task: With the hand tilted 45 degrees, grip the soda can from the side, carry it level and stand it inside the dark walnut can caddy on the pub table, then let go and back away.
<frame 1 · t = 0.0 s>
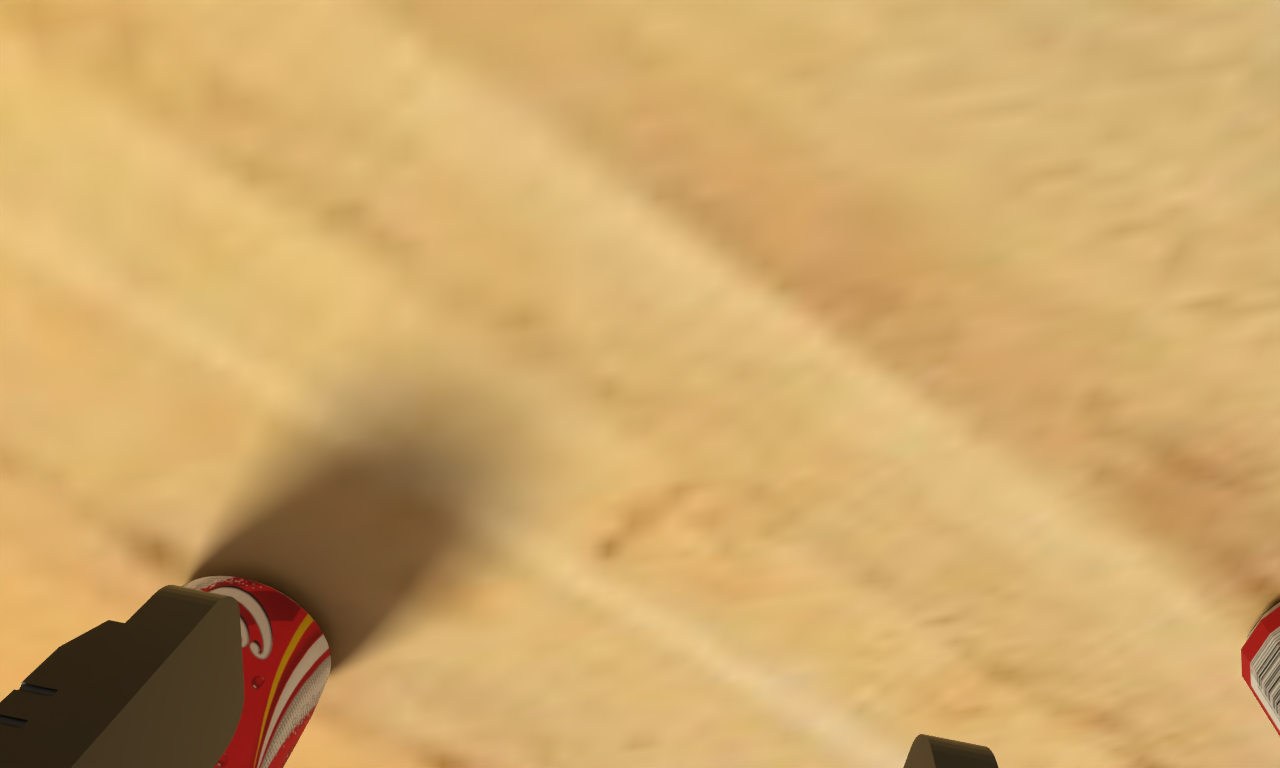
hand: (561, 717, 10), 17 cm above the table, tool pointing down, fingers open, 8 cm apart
soda can 2: (260, 625, 35), on the table
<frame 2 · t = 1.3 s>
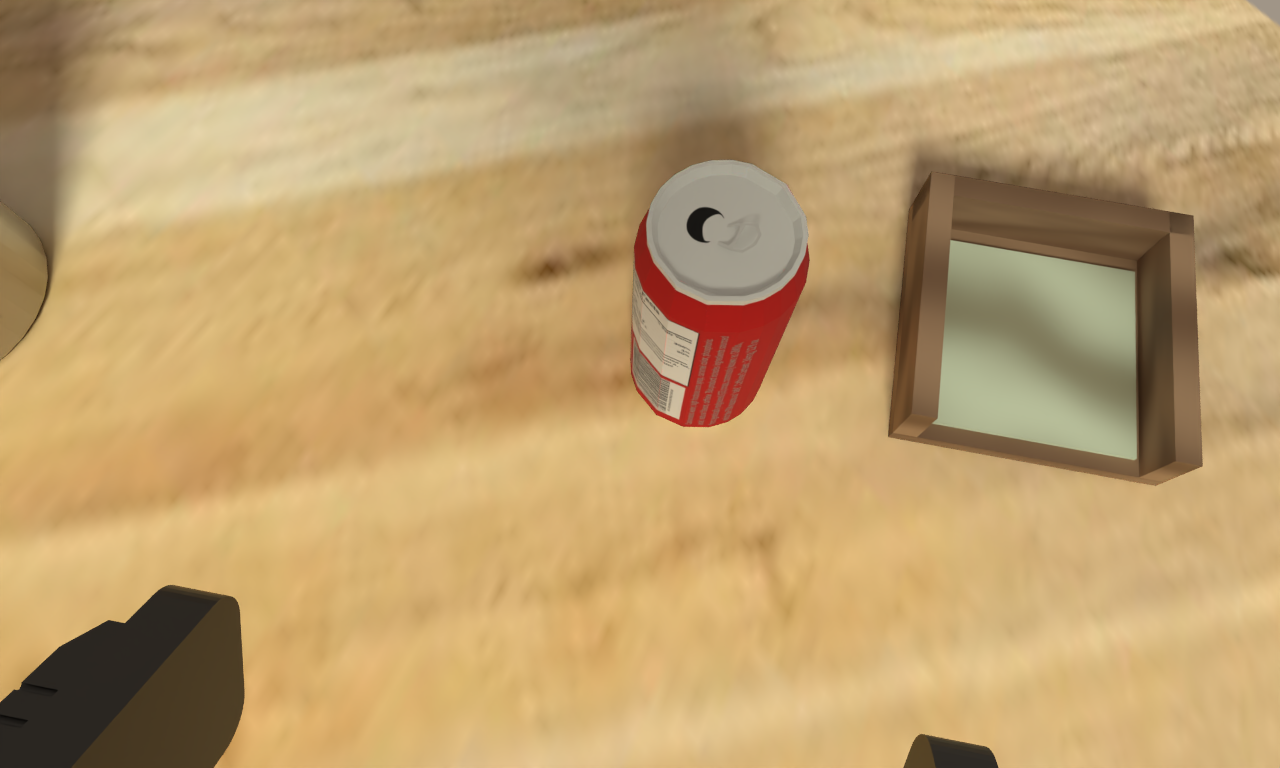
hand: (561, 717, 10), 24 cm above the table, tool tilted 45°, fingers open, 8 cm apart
caddy: (1025, 340, 38), on the table
soda can: (695, 370, 38), on the table
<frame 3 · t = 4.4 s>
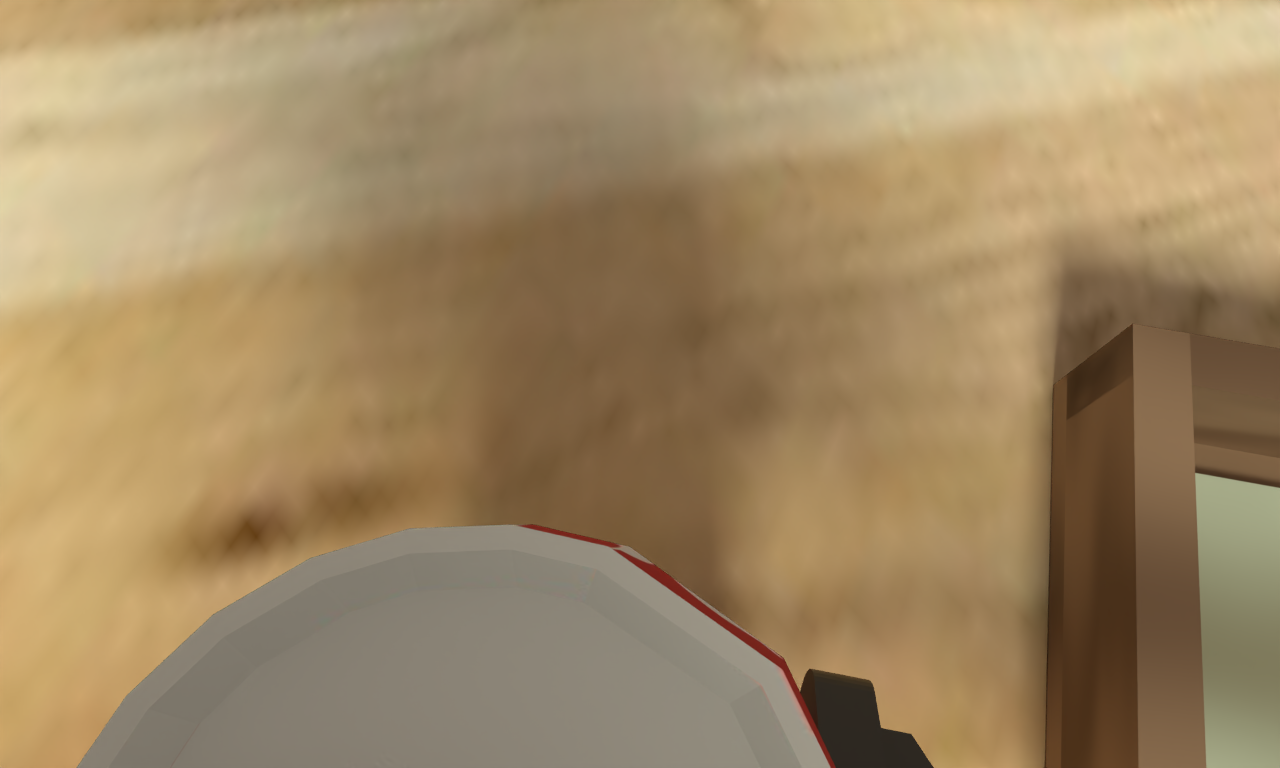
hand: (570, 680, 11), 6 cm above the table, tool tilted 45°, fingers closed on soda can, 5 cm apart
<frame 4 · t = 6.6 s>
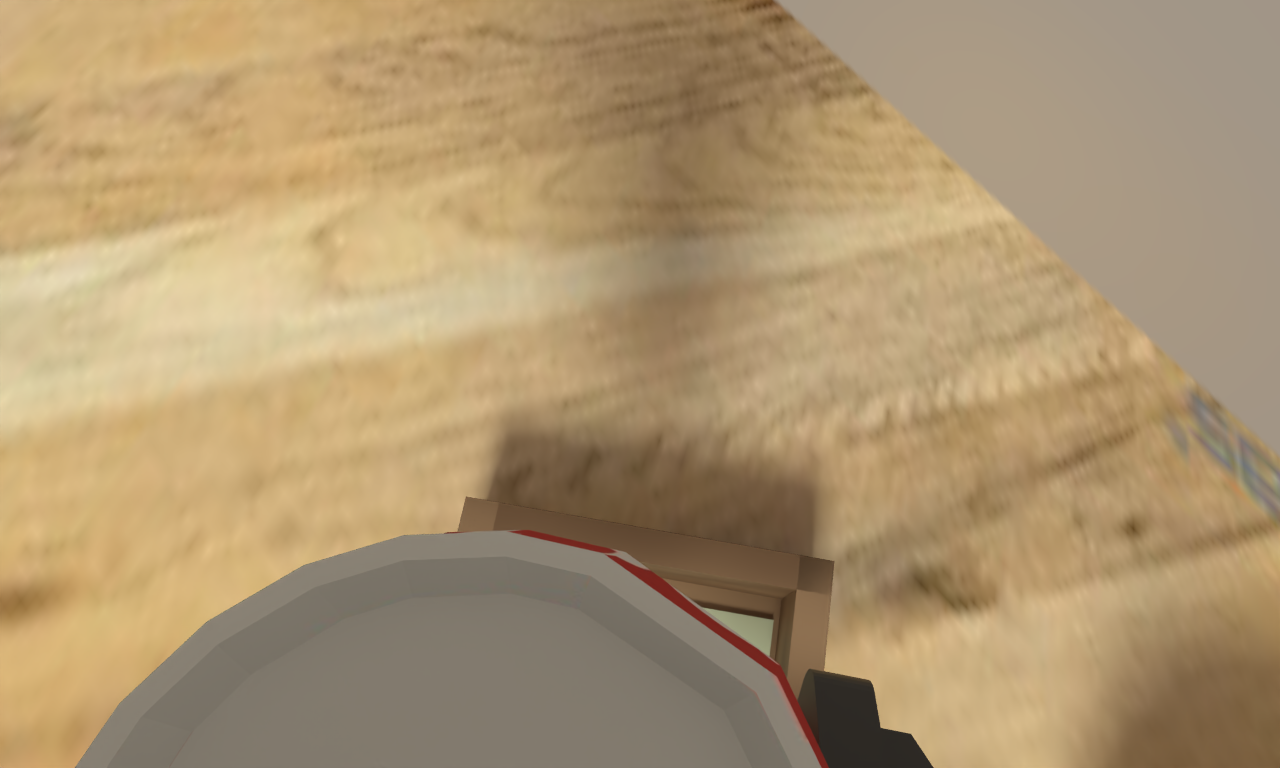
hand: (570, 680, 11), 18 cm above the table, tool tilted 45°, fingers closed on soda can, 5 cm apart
caddy: (615, 723, 27), on the table
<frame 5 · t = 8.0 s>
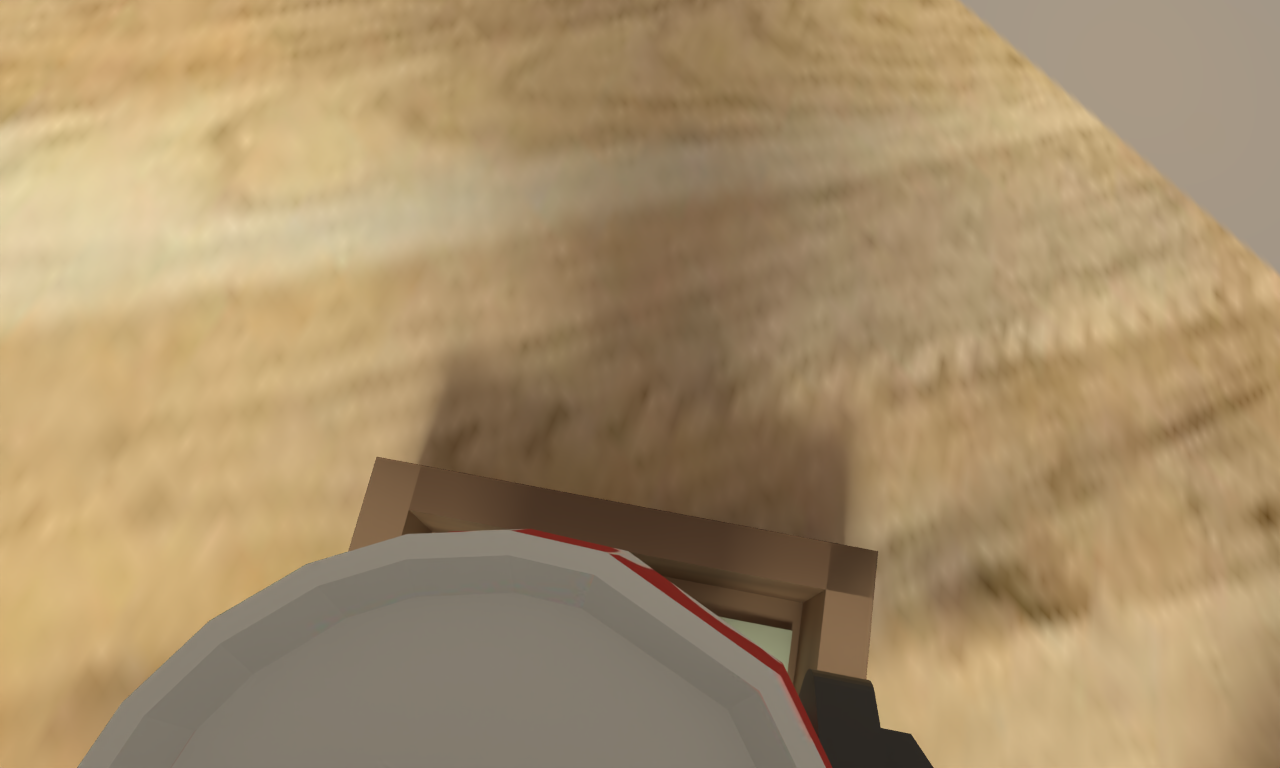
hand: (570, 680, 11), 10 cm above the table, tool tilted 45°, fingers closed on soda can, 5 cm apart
caddy: (577, 767, 20), on the table
when the fingers open (7 cm above the table, at t = 9.0 s): soda can stays where it is, resting on caddy.
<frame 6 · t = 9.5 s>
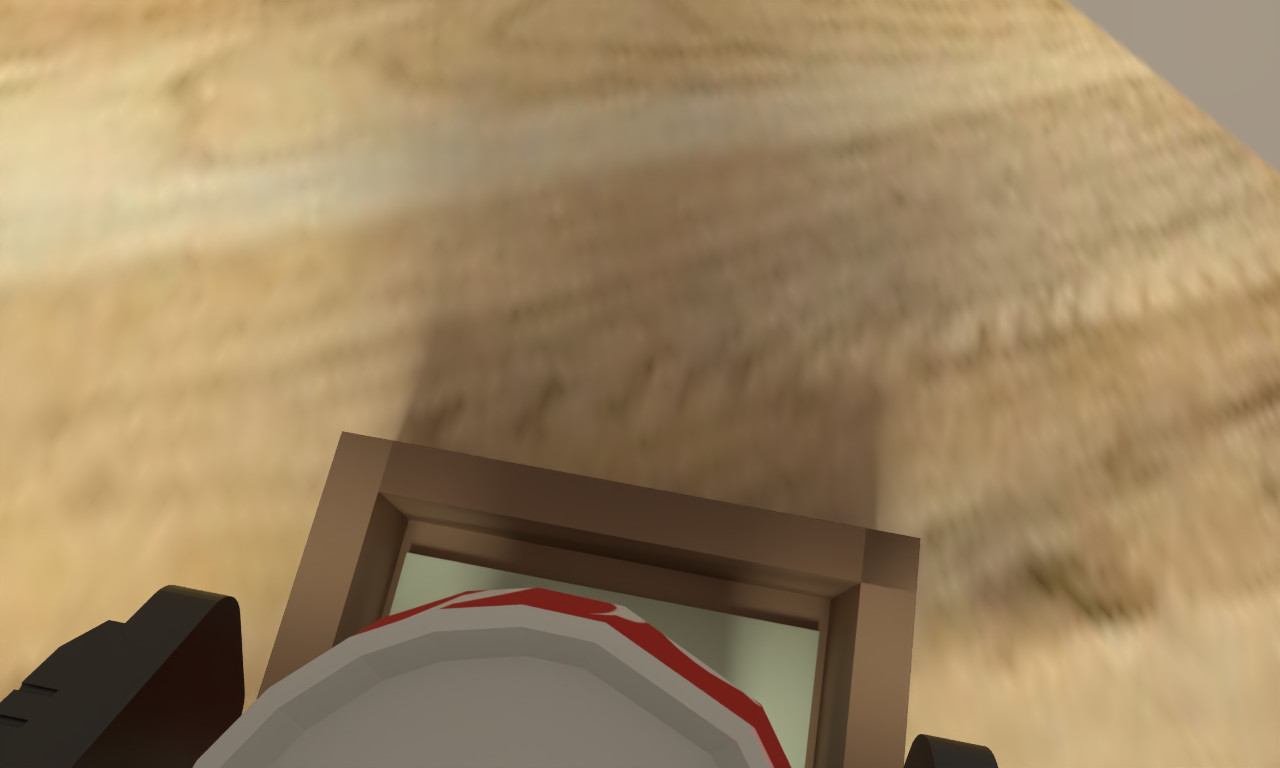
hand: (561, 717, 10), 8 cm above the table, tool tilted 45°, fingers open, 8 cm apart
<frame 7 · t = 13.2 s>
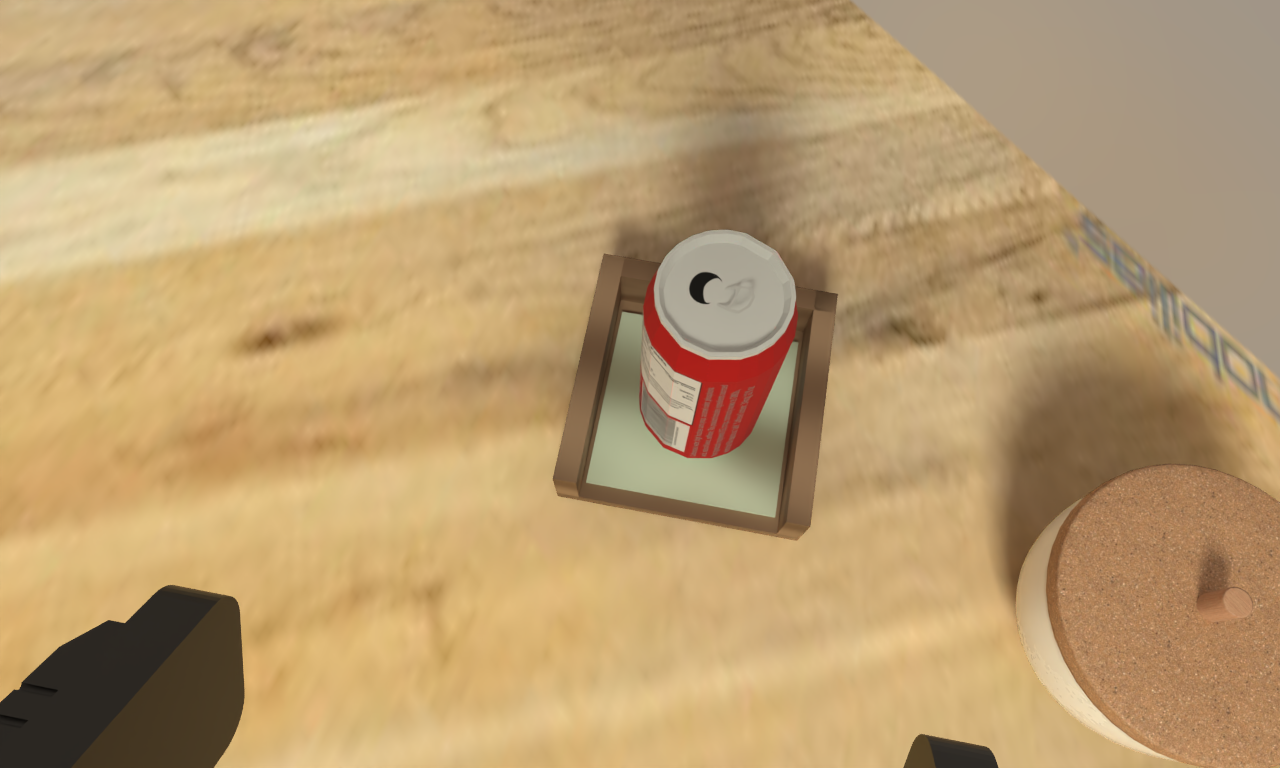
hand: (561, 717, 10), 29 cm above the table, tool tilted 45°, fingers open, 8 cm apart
caddy: (695, 405, 42), on the table
lidded jar: (1097, 628, 39), on the table
soda can: (697, 406, 42), point 1 cm above the table, touching caddy
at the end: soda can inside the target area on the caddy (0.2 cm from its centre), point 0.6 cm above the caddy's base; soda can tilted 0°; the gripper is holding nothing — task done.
